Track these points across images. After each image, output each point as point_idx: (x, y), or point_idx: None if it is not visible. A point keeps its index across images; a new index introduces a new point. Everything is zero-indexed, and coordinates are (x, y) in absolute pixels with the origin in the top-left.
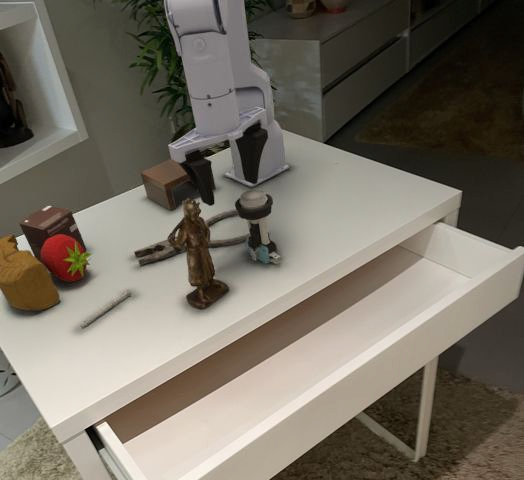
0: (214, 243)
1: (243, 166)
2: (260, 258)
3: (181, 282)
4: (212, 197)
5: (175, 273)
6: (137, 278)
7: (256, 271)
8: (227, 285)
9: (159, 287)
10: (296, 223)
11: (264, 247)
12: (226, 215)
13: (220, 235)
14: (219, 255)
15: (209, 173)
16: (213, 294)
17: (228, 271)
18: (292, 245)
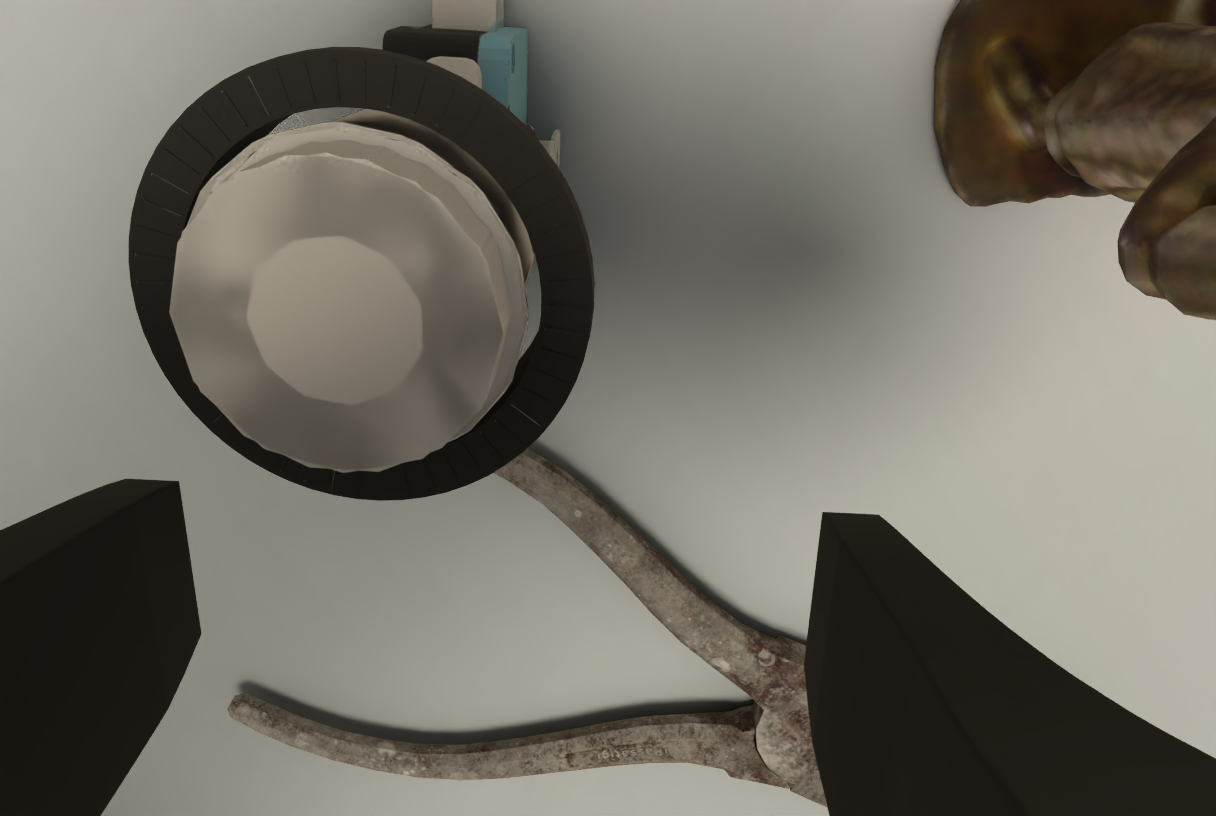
0: (630, 535)
1: (110, 758)
2: (523, 119)
3: (1074, 382)
4: (878, 545)
5: (1016, 497)
6: (1196, 646)
7: (645, 28)
8: (960, 23)
9: (1200, 456)
10: (13, 282)
11: (494, 66)
12: (337, 730)
13: (508, 599)
14: (678, 422)
15: (1017, 757)
16: (1121, 12)
17: (778, 212)
18: (217, 71)
